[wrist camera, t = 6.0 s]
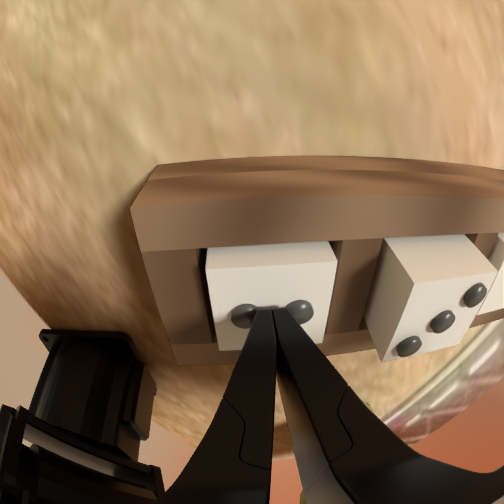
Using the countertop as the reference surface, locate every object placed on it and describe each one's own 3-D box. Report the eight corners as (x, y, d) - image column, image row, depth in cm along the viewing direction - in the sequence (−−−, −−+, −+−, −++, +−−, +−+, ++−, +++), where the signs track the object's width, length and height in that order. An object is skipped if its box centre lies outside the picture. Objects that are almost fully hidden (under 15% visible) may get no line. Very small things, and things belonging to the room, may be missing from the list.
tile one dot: (452, 280, 13) (478, 318, 10) (476, 215, 10) (512, 250, 8) (497, 273, 13) (522, 305, 10) (520, 216, 11) (551, 245, 8)
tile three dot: (361, 313, 11) (382, 366, 9) (381, 235, 9) (417, 288, 7) (434, 302, 11) (460, 347, 9) (462, 232, 9) (501, 275, 7)
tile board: (185, 305, 15) (177, 365, 12) (157, 164, 11) (129, 208, 8) (490, 275, 15) (519, 312, 12) (526, 174, 11) (568, 205, 8)
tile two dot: (220, 303, 12) (219, 355, 10) (210, 224, 10) (204, 274, 8) (309, 297, 12) (323, 347, 10) (317, 218, 10) (339, 265, 8)
